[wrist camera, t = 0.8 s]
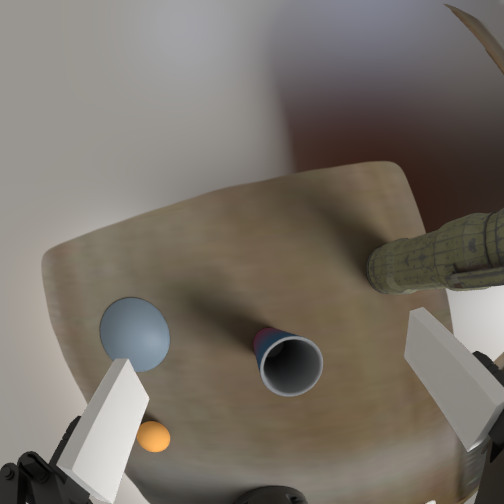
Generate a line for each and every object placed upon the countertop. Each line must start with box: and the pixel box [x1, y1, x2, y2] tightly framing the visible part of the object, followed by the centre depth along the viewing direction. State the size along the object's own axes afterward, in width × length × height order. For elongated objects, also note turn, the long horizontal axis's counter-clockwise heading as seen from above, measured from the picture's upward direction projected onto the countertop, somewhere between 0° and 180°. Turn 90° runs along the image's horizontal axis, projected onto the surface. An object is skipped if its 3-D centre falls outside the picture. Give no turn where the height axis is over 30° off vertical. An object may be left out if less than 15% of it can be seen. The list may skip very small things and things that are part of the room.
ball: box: [137, 421, 170, 452], centre depth 35 cm, size 6×6×6 cm
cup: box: [253, 328, 323, 397], centre depth 34 cm, size 7×7×15 cm
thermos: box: [366, 208, 504, 295], centre depth 28 cm, size 9×12×35 cm
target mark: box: [100, 298, 170, 372], centre depth 39 cm, size 12×12×1 cm
